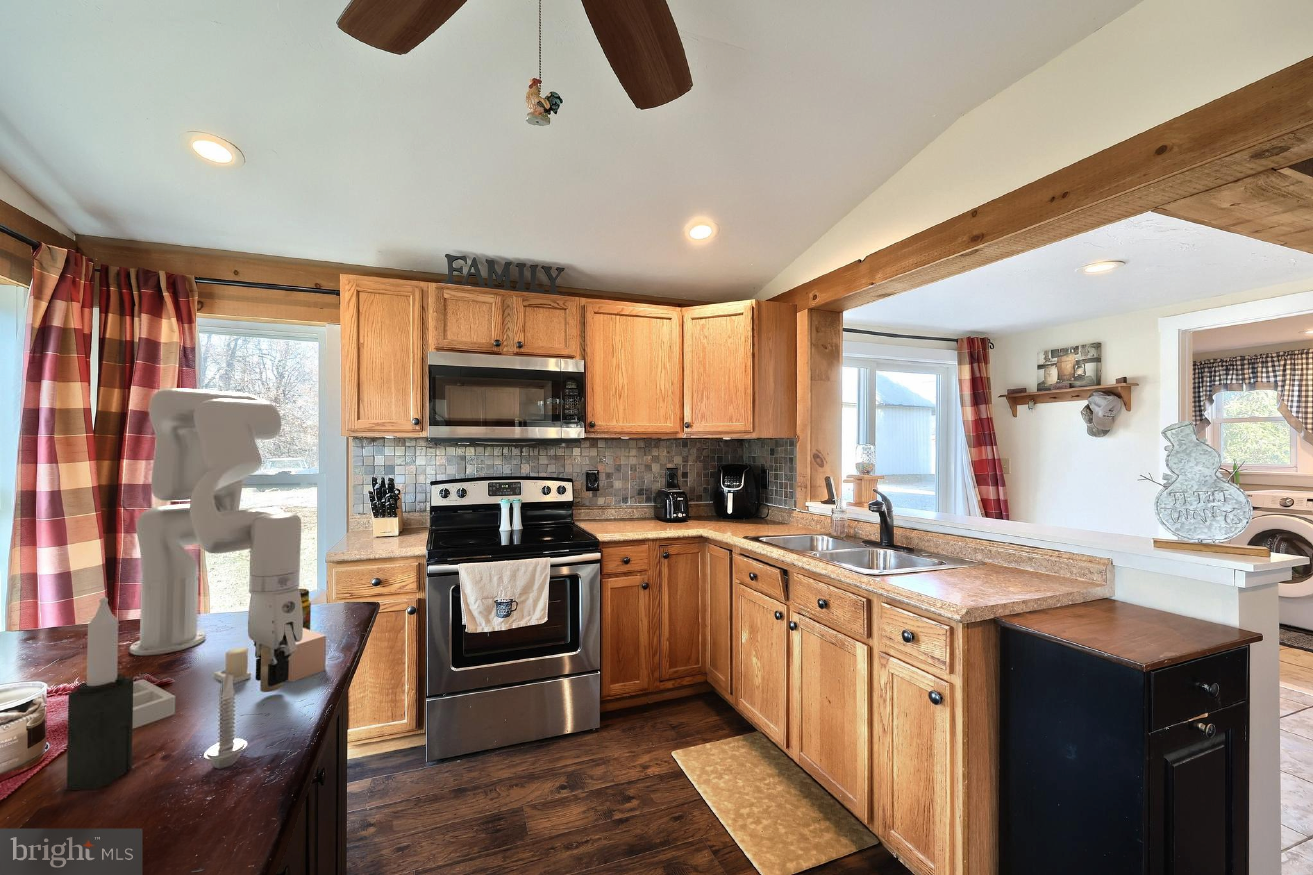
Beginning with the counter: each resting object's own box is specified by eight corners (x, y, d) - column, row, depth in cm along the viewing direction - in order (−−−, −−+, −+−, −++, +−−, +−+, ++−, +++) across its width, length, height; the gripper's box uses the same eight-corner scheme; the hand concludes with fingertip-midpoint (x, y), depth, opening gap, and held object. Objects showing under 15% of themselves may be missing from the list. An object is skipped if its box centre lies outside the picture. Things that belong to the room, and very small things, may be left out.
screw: (254, 752, 79) (233, 772, 74) (218, 754, 79) (195, 775, 74) (255, 666, 79) (235, 680, 75) (220, 667, 79) (197, 682, 74)
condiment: (311, 645, 120) (312, 592, 120) (265, 653, 116) (266, 598, 116) (311, 635, 126) (312, 585, 126) (268, 642, 122) (269, 590, 122)
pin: (256, 688, 96) (257, 639, 96) (276, 681, 99) (278, 633, 99) (266, 693, 94) (267, 643, 94) (286, 686, 97) (288, 637, 97)
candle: (98, 767, 75) (101, 592, 75) (136, 765, 76) (140, 592, 76) (60, 790, 70) (64, 603, 70) (102, 789, 71) (106, 603, 71)
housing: (266, 671, 106) (267, 637, 106) (300, 660, 112) (301, 627, 112) (291, 682, 102) (291, 646, 102) (325, 669, 108) (326, 635, 108)
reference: (214, 677, 103) (214, 649, 103) (235, 670, 106) (235, 643, 106) (230, 685, 100) (230, 656, 100) (251, 677, 103) (251, 649, 104)
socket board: (88, 712, 90) (88, 695, 90) (142, 695, 96) (143, 679, 96) (118, 733, 84) (119, 714, 84) (174, 713, 90) (175, 696, 90)
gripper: (322, 583, 96) (318, 683, 96) (273, 569, 104) (270, 662, 104) (276, 594, 89) (273, 701, 90) (228, 578, 97) (225, 677, 97)
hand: (271, 679), depth 97 cm, fingers closed on pin, 3 cm apart
